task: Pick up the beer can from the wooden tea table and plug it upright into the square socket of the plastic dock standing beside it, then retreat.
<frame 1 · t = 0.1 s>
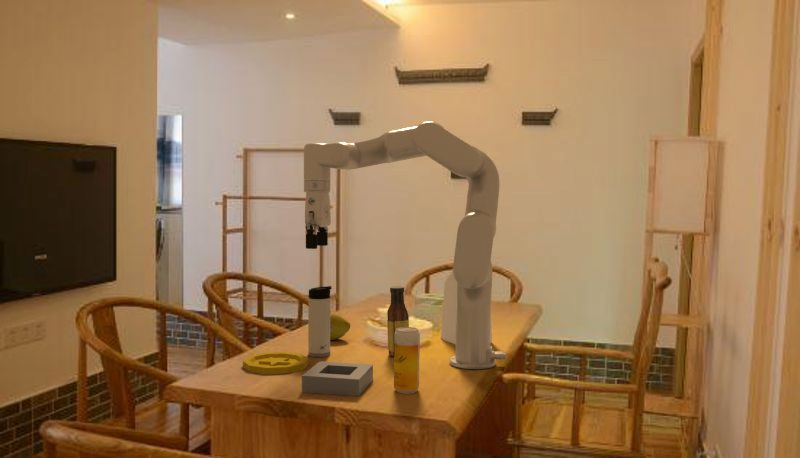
hand: (316, 247, 208), 31 cm above the table, tool pointing down, fingers open, 9 cm apart
milk: (465, 341, 231), on the table
lemon: (333, 340, 230), on the table
decorative disc: (275, 367, 198), on the table
beer can: (406, 391, 176), on the table
sauce bottle: (398, 355, 211), on the table
travel mug: (319, 355, 210), on the table
socket dock: (338, 385, 179), on the table
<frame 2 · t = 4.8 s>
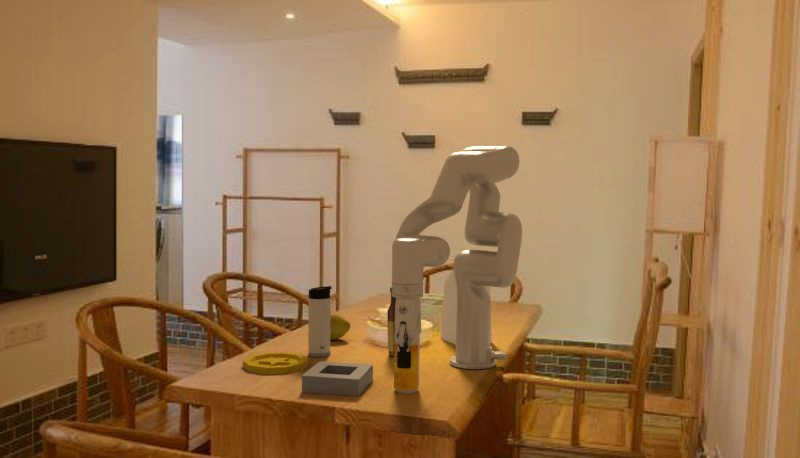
hand: (406, 363, 176), 7 cm above the table, tool pointing down, fingers closed on beer can, 6 cm apart
beer can: (406, 391, 176), on the table, touching gripper
everything else where it was.
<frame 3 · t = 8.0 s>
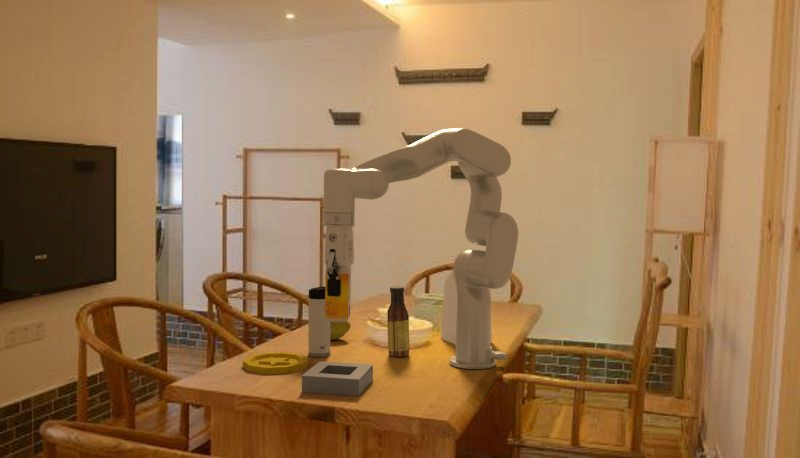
hand: (337, 293, 178), 23 cm above the table, tool pointing down, fingers closed on beer can, 6 cm apart
beer can: (337, 320, 178), point 16 cm above the table, touching gripper
everything else where it was.
when the fingers open (8 cm above the table, at t = 11.2 s): beer can stays where it is, resting on socket dock.
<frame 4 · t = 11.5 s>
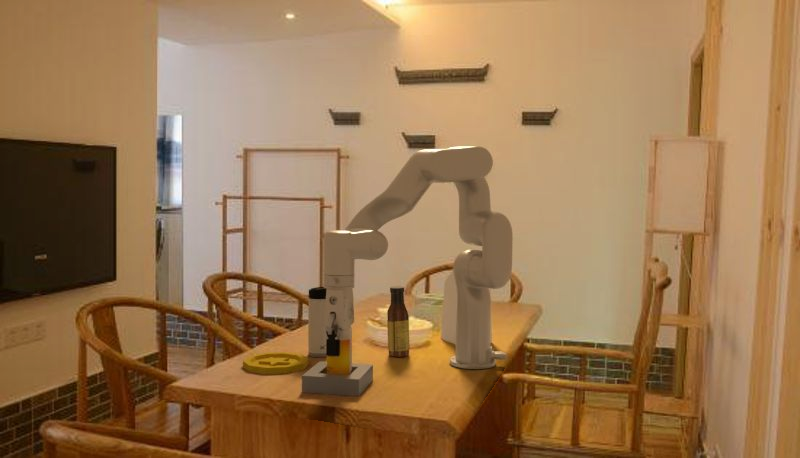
hand: (338, 351, 179), 9 cm above the table, tool pointing down, fingers open, 9 cm apart
beer can: (339, 385, 180), resting on socket dock
everything else where it was.
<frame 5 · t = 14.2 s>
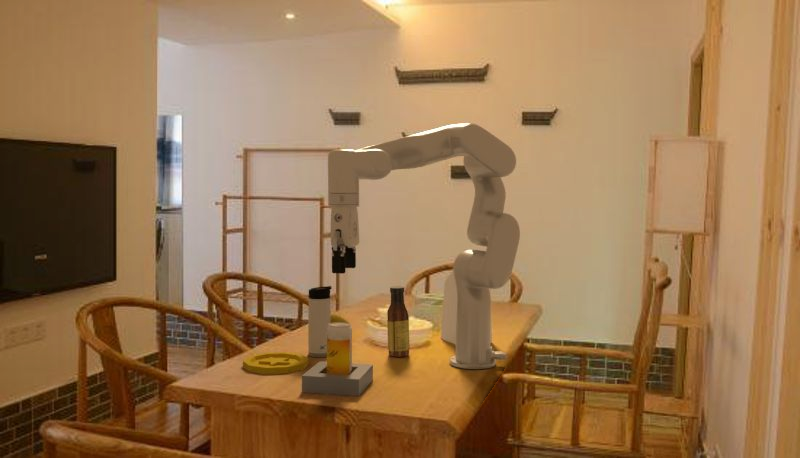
hand: (344, 270, 179), 28 cm above the table, tool pointing down, fingers open, 9 cm apart
nothing on the table moved.
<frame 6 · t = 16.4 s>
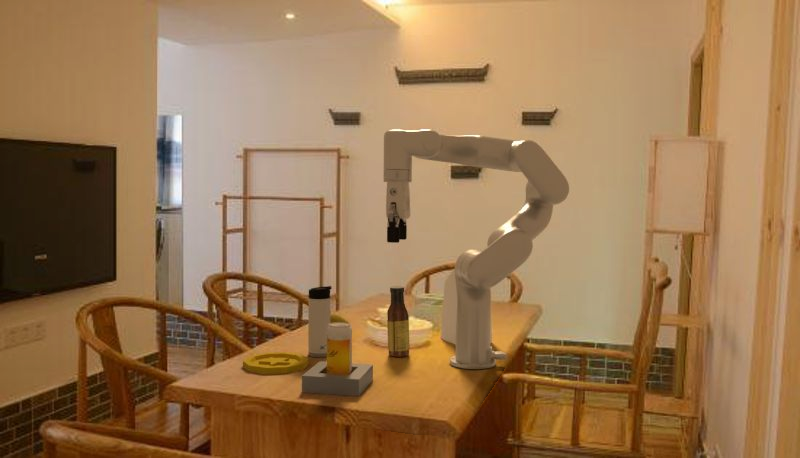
hand: (397, 240, 195), 34 cm above the table, tool pointing down, fingers open, 9 cm apart
nothing on the table moved.
at the end: beer can 0.2 cm off-centre on the socket dock, point 0.1 cm above the socket dock's base; beer can tilted 0°; the gripper is holding nothing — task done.
